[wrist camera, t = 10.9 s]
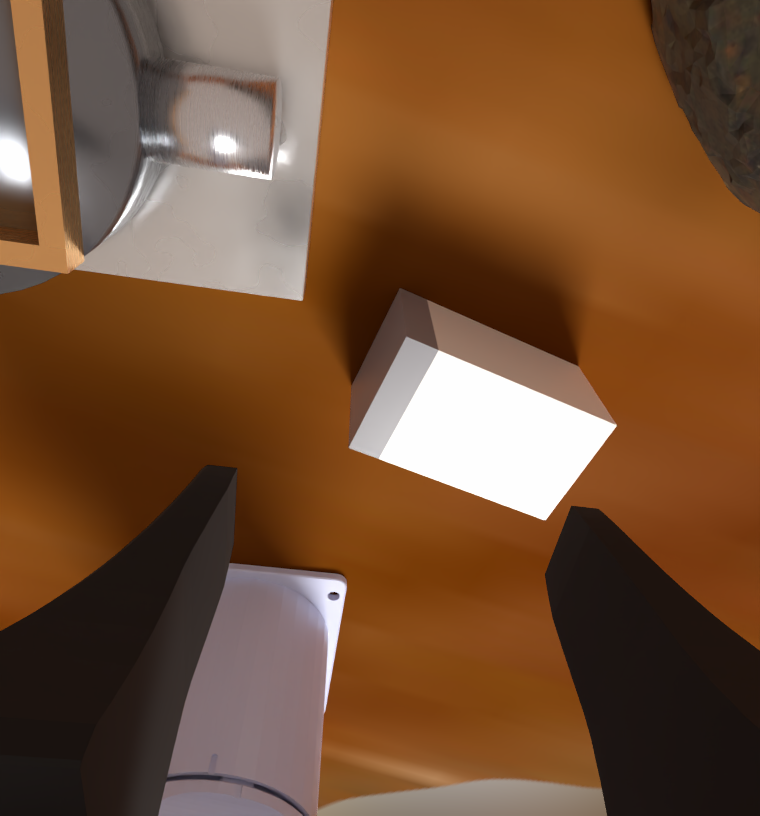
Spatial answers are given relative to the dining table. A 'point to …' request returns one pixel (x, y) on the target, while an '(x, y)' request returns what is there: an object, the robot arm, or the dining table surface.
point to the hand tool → (717, 81)
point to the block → (474, 408)
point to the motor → (161, 140)
